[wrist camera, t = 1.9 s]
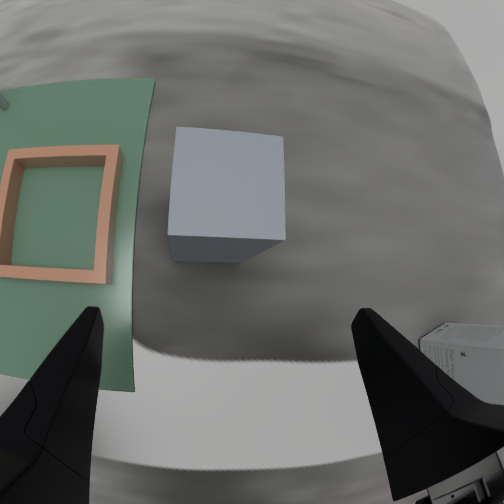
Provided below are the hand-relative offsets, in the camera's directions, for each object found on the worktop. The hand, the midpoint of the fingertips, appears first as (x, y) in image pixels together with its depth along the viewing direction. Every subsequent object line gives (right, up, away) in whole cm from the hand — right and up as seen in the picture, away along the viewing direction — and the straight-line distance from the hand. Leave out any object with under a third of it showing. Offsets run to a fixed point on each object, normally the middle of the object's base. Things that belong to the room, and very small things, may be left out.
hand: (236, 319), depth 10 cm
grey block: (-3, +4, +12) cm, 13 cm away
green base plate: (-15, +5, +9) cm, 19 cm away
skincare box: (+18, -8, +15) cm, 25 cm away
